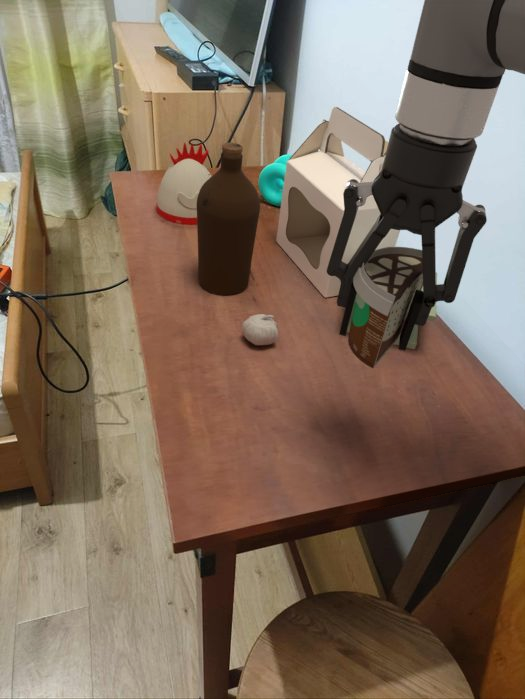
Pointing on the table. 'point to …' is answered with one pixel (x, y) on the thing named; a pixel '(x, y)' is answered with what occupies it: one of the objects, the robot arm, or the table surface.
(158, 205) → the kitchen timer
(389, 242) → the gable box
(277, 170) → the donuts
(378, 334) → the food container
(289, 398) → the table surface
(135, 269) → the table surface
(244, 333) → the garlic
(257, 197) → the olive oil
